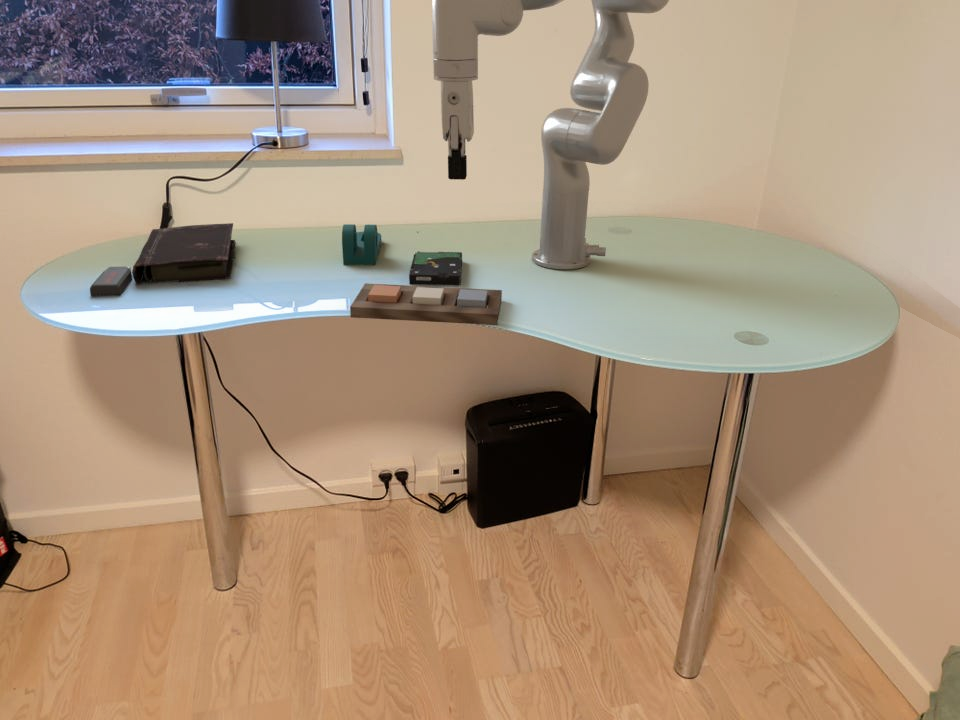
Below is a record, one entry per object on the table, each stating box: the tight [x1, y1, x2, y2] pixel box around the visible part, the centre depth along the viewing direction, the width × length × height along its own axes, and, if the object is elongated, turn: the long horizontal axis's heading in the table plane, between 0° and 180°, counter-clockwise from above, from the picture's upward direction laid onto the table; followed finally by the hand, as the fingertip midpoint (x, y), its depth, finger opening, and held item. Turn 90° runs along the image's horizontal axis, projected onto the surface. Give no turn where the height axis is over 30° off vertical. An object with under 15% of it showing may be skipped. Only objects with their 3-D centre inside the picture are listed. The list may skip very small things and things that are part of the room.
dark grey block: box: [89, 265, 133, 298], centre depth 144 cm, size 5×12×3 cm, turn 9°
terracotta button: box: [368, 285, 401, 303], centre depth 137 cm, size 5×5×3 cm
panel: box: [349, 282, 503, 326], centre depth 136 cm, size 26×12×2 cm, turn 85°
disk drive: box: [408, 251, 463, 286], centre depth 154 cm, size 10×3×15 cm
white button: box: [412, 287, 444, 305], centre depth 136 cm, size 5×5×3 cm
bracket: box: [341, 223, 382, 266], centre depth 164 cm, size 18×7×8 cm, turn 2°
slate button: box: [457, 289, 488, 308], centre depth 136 cm, size 5×5×3 cm
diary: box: [131, 222, 237, 286], centre depth 156 cm, size 19×25×5 cm
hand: (457, 178), depth 135 cm, fingers closed
